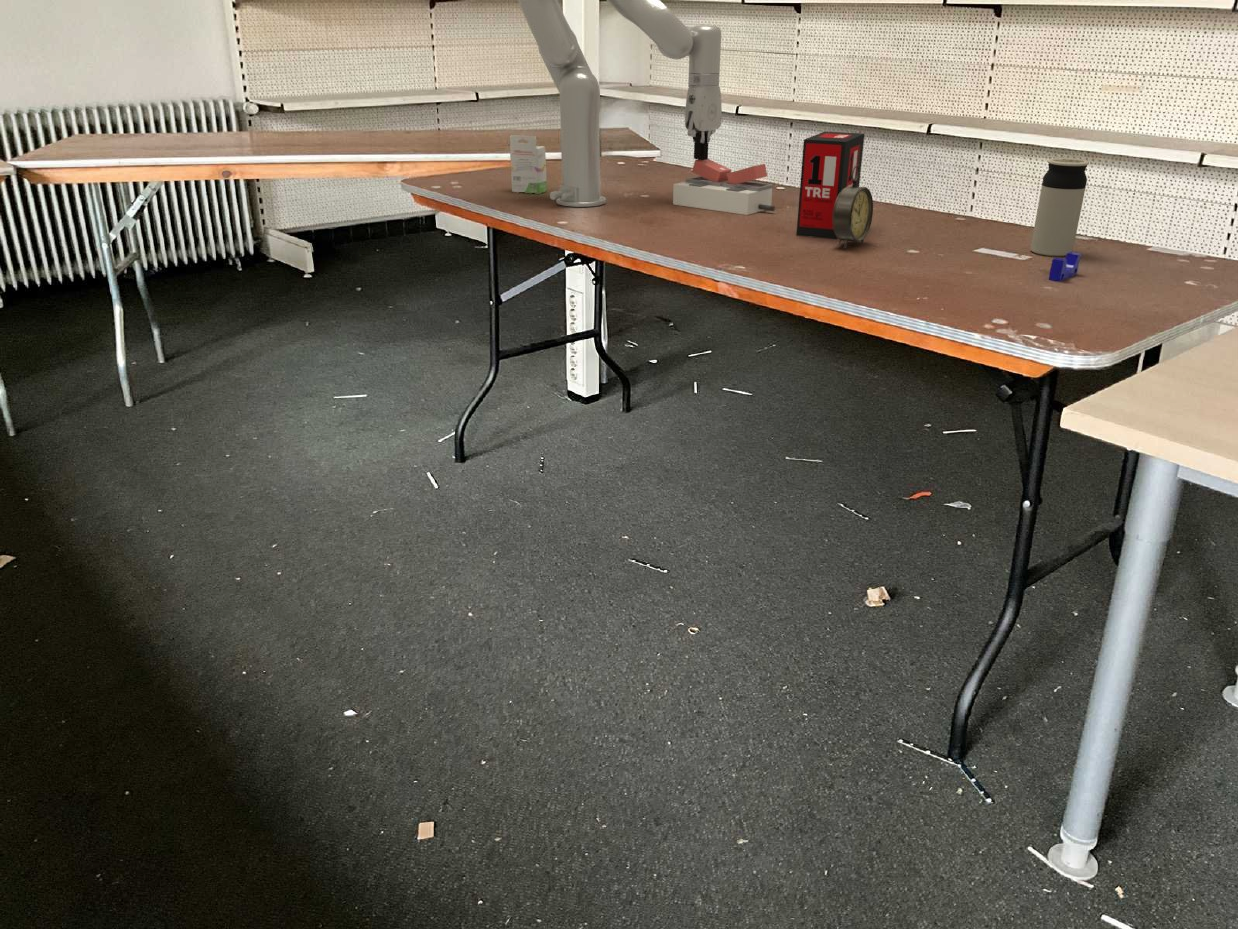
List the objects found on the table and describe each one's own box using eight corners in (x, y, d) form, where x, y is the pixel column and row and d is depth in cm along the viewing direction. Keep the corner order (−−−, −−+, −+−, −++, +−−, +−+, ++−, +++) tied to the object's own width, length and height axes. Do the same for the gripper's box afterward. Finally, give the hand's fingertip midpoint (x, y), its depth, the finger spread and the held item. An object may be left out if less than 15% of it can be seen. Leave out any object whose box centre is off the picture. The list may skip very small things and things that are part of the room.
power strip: (761, 217, 231) (763, 191, 228) (673, 204, 245) (673, 180, 243) (785, 210, 238) (786, 185, 236) (697, 198, 253) (698, 175, 251)
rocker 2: (756, 178, 234) (753, 165, 233) (729, 185, 239) (726, 173, 238) (767, 176, 237) (764, 163, 236) (740, 183, 243) (737, 170, 242)
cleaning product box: (836, 239, 209) (845, 141, 200) (796, 235, 212) (803, 139, 204) (855, 225, 222) (864, 133, 214) (817, 221, 226) (824, 131, 217)
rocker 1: (717, 183, 241) (720, 171, 239) (692, 171, 245) (695, 159, 243) (728, 181, 245) (731, 169, 243) (703, 169, 248) (706, 157, 246)
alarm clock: (848, 251, 198) (857, 169, 191) (824, 248, 201) (832, 166, 194) (871, 242, 206) (880, 162, 199) (847, 239, 209) (855, 160, 202)
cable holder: (1057, 271, 184) (1062, 250, 182) (1076, 274, 182) (1081, 253, 180) (1040, 279, 179) (1044, 257, 177) (1059, 282, 176) (1063, 260, 175)
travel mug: (1076, 257, 193) (1095, 164, 186) (1034, 256, 194) (1051, 162, 187) (1066, 249, 200) (1084, 158, 193) (1026, 247, 202) (1042, 157, 194)
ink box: (547, 191, 262) (546, 134, 256) (538, 194, 258) (537, 136, 252) (520, 189, 266) (517, 132, 260) (510, 192, 262) (508, 134, 255)
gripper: (699, 83, 230) (696, 163, 237) (733, 80, 240) (729, 157, 248) (673, 81, 234) (671, 160, 242) (708, 78, 244) (705, 154, 252)
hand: (700, 158), depth 245 cm, fingers closed
